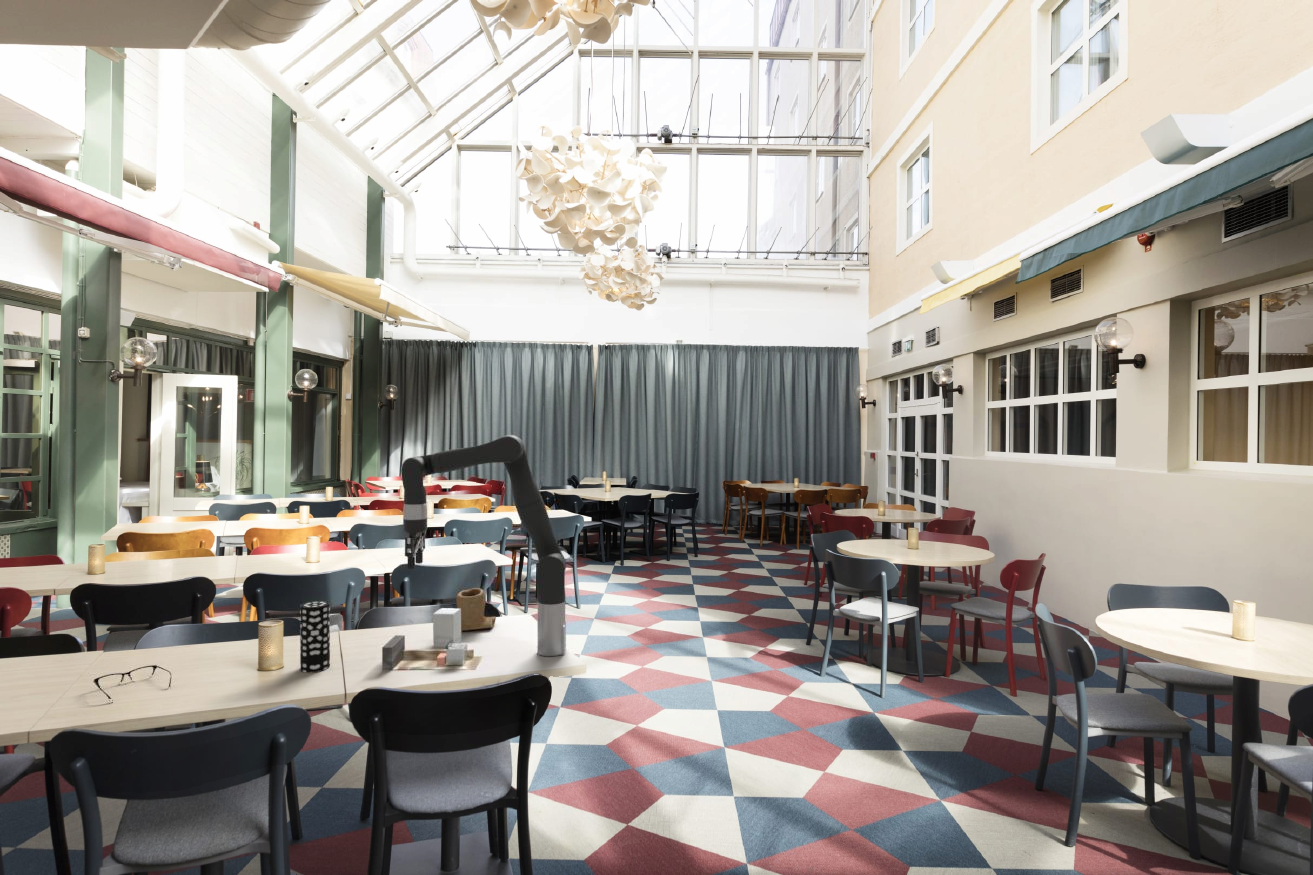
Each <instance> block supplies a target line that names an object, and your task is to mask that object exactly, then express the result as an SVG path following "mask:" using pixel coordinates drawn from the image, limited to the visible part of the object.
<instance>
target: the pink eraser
mask: <svg viewBox="0 0 1313 875" xmlns="http://www.w3.org/2000/svg"><path fill="white" fill-rule="evenodd" d="M445 664H446V653H440V654H439V656H438V657H437V665H445Z"/></svg>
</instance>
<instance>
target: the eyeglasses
mask: <svg viewBox="0 0 1313 875" xmlns="http://www.w3.org/2000/svg"><path fill="white" fill-rule="evenodd" d="M145 668H152V673H151V675H154V674H155V671H156V669H158V668H159V669H161V670H163V671H166V672H168V673H169V675H170V678H169V682H168V688H169V687H170V688H171V683H172V673H171V671H169V670H168V669H164V668H163V667H161V666H159V665H156V664H154V665H153V664H151V665H146V666H141V667H138V668H135V669H132V670H129V671H127V672H123V673H122V672H121V673H120V672H118V673H110V674H106V675H102V676H99V677H96V678H94V679H93V680H92V681H93V684H95V685H96V687H98V689H100V691H101V692H103V694H105V695H106V697H107V699H108V700H109V699H112V698H111V696H110V695H109V694H108V693H107V692H105V691H104V690H103V689H101V688H102V687H101V686H100V683H99V680H100V679H103V678H105V677H109V676H115V675H116V676H119V675H120V676H121V680H120V682H121V683H122V682H124V681H125V675H126V676H128V677H129V680H131V681H132V679H133V678H132V676H131V673H133V672H135V671H137V670H140V669H145ZM120 682H119V683H120ZM100 687H101V688H100Z"/></svg>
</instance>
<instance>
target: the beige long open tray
mask: <svg viewBox="0 0 1313 875" xmlns="http://www.w3.org/2000/svg"><path fill="white" fill-rule="evenodd" d="M405 638H406V635H401V634H400V635H398V634H397V635H396V634H395V635H394V636H393V637H392V638H391V639H389V641H387V642H386V643H385V644H384V645H383V646H382V648H381V654H382V655H381V664H382V665H381V669H382V670H381V671H382V672H383V671H467V670H468V671H470V670H473V671H475V670H476V669H477V668H478V666H479V665H480V662H482V659H483V658H484V656H483V655H482V656H479V655H478V656H477V655H476V656H475V653H474V652H475V650H474V649H473V648H471V649H469V648H467V660H466V661H465V663H464V664H463V665H446V664H445V665H437V657H438V656H439V654H440V653H446V649H444V648H443V649H406V644H405V643H406V639H405Z"/></svg>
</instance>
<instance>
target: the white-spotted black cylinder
mask: <svg viewBox="0 0 1313 875" xmlns="http://www.w3.org/2000/svg"><path fill="white" fill-rule="evenodd" d="M299 624H300V625H299V627H300V628H299V630H300V631H299V634H300V636H299V637H300V638H299V639H300V641H299V642H300V643H299V647H300V649H299V653H300V655H299V658H300V659H299V661H300V664H299V665H300V667H299V669H300V671H301V672H302V673H308V674H309V673H312V674H313V673H317V672H322V671H325V670H328V669H329V668H330V667H331V603H330V601H327V600H315V601H314V600H313V601H307V602H304V603H301V604H300V606H299Z"/></svg>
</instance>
